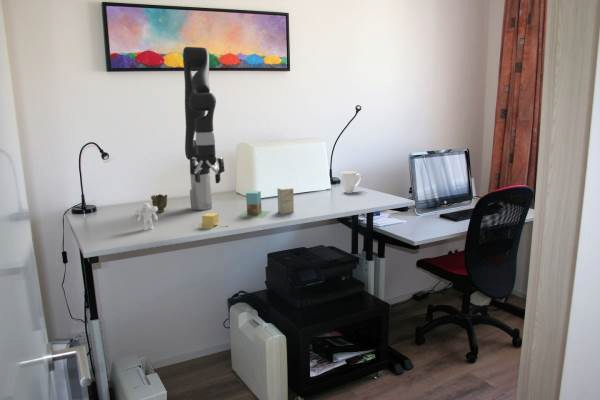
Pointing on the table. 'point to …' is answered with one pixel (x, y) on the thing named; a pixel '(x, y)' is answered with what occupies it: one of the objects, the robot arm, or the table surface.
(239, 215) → the plate
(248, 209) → the walnut brick
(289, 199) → the skincare box
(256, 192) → the teal brick
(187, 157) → the robot arm
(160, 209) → the cup
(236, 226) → the table surface
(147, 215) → the flower shoulder figurine
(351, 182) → the mug
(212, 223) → the mustard brick
